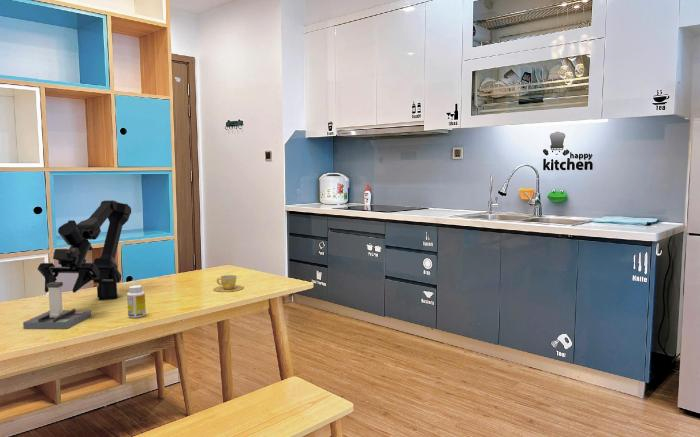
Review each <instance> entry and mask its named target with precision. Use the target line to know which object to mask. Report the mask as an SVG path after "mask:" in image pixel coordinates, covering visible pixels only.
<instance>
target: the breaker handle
mask: <svg viewBox="0 0 700 437" xmlns="http://www.w3.org/2000/svg"><path fill="white" fill-rule="evenodd" d="M63 283H64V282H63V281H55V282H50V283H48V284H46V286H47V288H48V290H49V291H48V303H49V311H50V315H49V317H57V316H59V315H61V314H64V313H63V310H64V308H63V296H62V295H63V293H62V292H63V290H62V287H63V286H64V284H63Z"/></svg>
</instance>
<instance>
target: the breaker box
mask: <svg viewBox="0 0 700 437" xmlns="http://www.w3.org/2000/svg"><path fill="white" fill-rule="evenodd" d="M63 313H64V314H61V315H59V316H57V317H49V315H50V310H48V311H46V312H44V313H41V314H39V315H37V316H34V317H32V318H30V319H27V320H26V321H24V322H23V323H22V325H23V329H26V330H27V329H28V330H31V329H32V330H33V329H36V330H41V329H42V330H48V329H49V330H50V329H52V330H59V329H60V330H67V329H70V328H71V327H74V326H75V324H76V325H77V324H79V323H81V322H83V321H85V320H87V319H89V318H91V317H92V310H89V309H88V310H86V309H84V310H83V309H82V310H81V309H76V308H73V309H70V310H69V309H67V310H66V309H63Z"/></svg>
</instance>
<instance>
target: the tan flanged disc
mask: <svg viewBox="0 0 700 437" xmlns="http://www.w3.org/2000/svg"><path fill="white" fill-rule="evenodd" d="M219 280H220V282H219ZM236 282H237V275H234V274H225V275H221V276H220V277H217V279H216V284H217V285H219V286H216V287H214V288H213V291H216V292H219V293H220V292H223V293H229V292H237V291H241V290H243V289H244V286H243V285H239V284H236Z"/></svg>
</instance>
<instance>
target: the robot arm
mask: <svg viewBox="0 0 700 437" xmlns="http://www.w3.org/2000/svg"><path fill="white" fill-rule="evenodd" d="M131 214H132V208H131V206H130V205H129V204H128V203H122V202H118V201H117V200H110V199H109V200H102V201H100V204H99V206H98V207H97V208H96V209H95V211H93V213H92V214H91V215H90V217H89V218H87V219H85V220H81V221H80V222H79V223H77V222H76V221H75V220H74V219H73V220H69V219H68V221H67V222H65V223H63V224H62V225H60V226H59V227H58V229H57V233H58V234H59V236H60V238H62V239H63V241H64V242H65V244H66V245H69V246H70V247H69V248H54V252H53V256H52V259H53V260H57V261H58V262H57V264H58V265H60V266H56V265H55V264H54V263H53V262H41V263H39V265H38V266H37V271H39V273H40V275H41V276H43V277H44V292H45V293H46V294H47V293H49V290H48V288H47V286H46V284H48V283H50V282H57V277H59V274H77V275H78V276H77V279H76V280H75V283H74V285H73V288H72V293H73V294H74V293H77V291H79V290H80V289H81V288H83V287H84V286H85V285H87V284H88V283H90V282H91V281H93V283H94V284H98V285H97V287H96V291H97V296H96V297H97V298H98V300H99V301H100V300H101V301H102V300H111V299H112V300H114V299H118V297H119V295H118V283H120V282H121V281H122V273H120V271H119V270H118V264H117V261H116V254H117V250H118V246H119V242H120V238H121V232H122V230H123V226H124V225H125V224H126V223H127V222H128V221H129V219H130V216H131ZM107 219H108V222H109V224H108V228H107V232H106V234H105V239H104V242H103V247H102V252H101V255H100V257H98V258H97V257H95V258H94V259H93V260H94V261H93V262H87V260H86V256H87V254H88V251H93V246H92V244H91V242H90V241H91V240H97V239H98V238H99V235H100V234H101V233H102V231H101V227H102V225H103V224H104V223H105V221H107ZM89 240H90V241H89Z"/></svg>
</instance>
